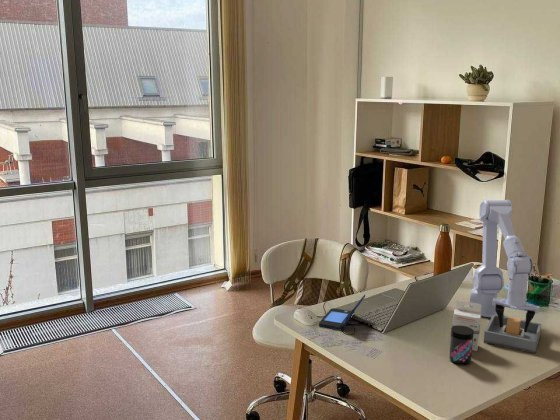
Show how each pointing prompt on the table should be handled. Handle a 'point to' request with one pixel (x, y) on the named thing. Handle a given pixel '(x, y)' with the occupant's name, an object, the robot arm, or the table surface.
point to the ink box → (468, 319)
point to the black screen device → (338, 317)
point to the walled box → (523, 344)
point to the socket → (513, 334)
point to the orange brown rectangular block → (513, 325)
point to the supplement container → (461, 344)
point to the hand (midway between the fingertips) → (513, 328)
